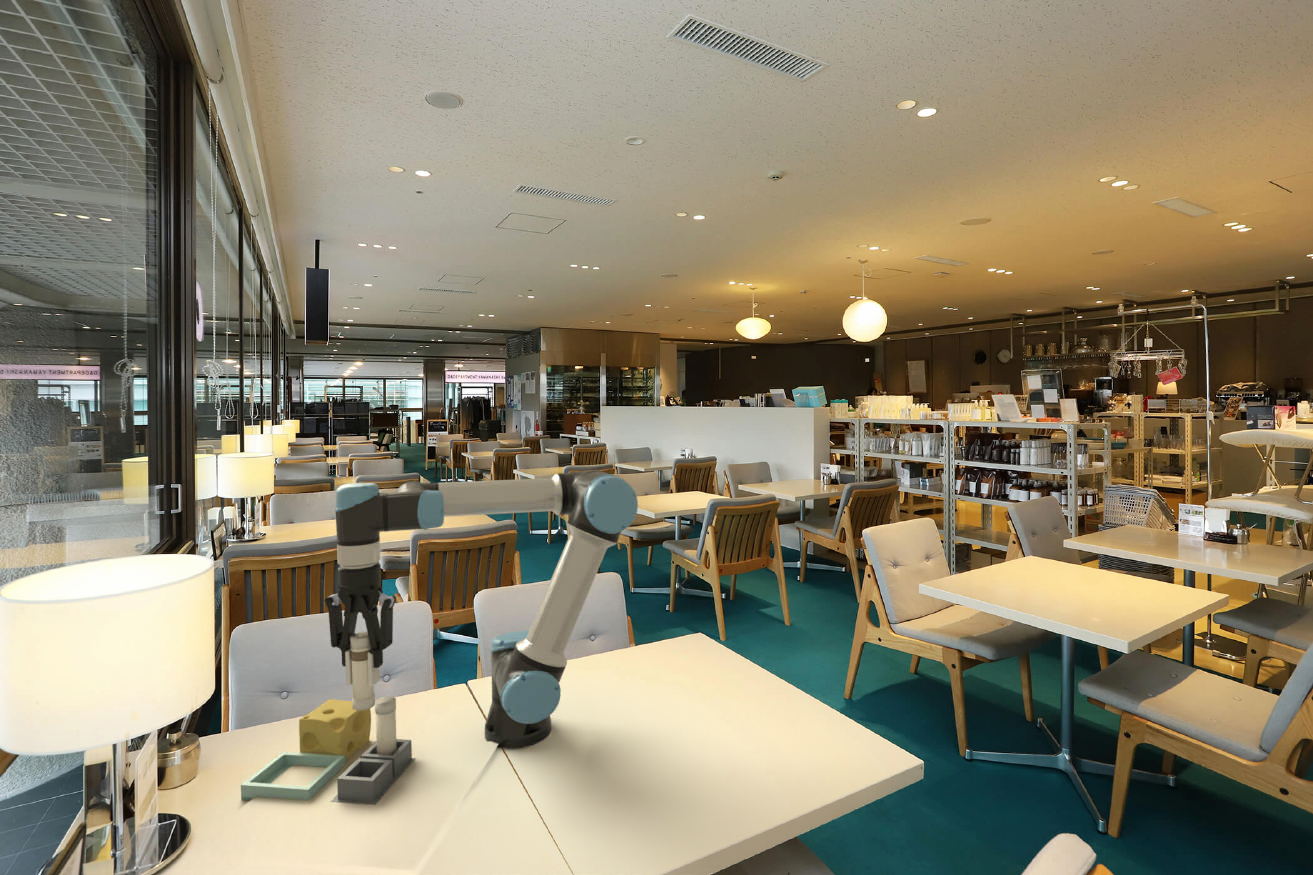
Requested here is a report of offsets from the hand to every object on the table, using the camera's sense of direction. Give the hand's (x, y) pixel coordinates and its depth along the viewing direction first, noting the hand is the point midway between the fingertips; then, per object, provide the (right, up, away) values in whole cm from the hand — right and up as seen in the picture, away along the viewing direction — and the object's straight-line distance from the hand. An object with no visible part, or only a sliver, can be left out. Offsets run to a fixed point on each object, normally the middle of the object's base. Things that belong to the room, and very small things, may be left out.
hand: (363, 682), depth 127 cm
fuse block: (0, -22, +5) cm, 23 cm away
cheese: (-13, -22, +16) cm, 30 cm away
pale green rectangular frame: (-16, -22, +5) cm, 28 cm away
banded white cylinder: (0, -5, 0) cm, 5 cm away
